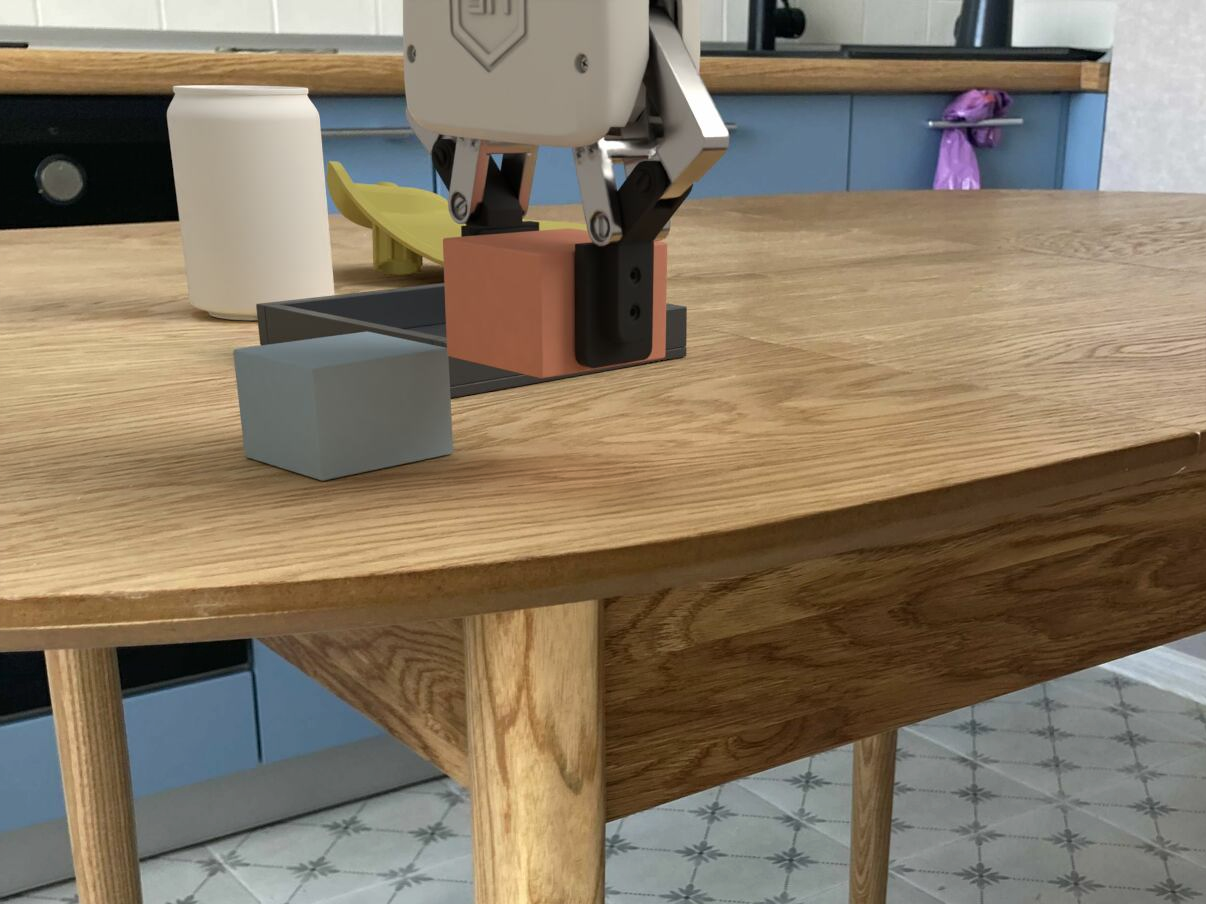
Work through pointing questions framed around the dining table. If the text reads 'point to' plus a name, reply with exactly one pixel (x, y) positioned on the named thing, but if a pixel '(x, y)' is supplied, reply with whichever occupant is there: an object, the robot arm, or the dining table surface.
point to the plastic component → (402, 220)
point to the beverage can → (250, 196)
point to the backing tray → (415, 329)
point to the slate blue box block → (344, 403)
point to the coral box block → (525, 300)
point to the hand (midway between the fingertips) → (557, 344)
